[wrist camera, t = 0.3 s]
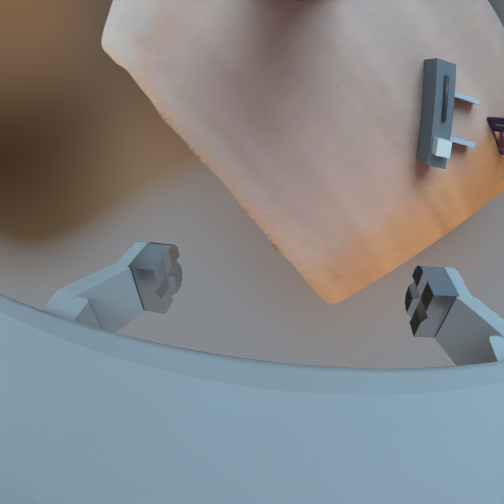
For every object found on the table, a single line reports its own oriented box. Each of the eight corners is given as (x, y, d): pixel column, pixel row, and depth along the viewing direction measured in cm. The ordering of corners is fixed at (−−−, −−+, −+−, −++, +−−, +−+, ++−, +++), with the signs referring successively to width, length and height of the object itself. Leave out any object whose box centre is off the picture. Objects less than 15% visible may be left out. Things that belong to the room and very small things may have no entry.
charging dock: (424, 59, 37) (441, 57, 30) (474, 76, 35) (495, 78, 29) (416, 156, 48) (431, 168, 41) (463, 166, 46) (482, 179, 40)
